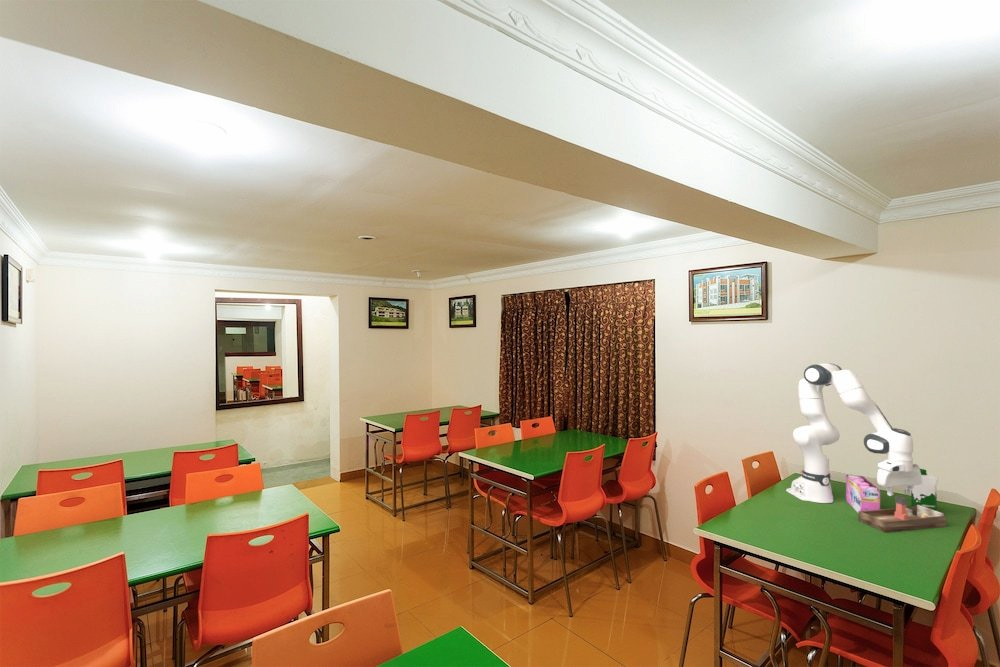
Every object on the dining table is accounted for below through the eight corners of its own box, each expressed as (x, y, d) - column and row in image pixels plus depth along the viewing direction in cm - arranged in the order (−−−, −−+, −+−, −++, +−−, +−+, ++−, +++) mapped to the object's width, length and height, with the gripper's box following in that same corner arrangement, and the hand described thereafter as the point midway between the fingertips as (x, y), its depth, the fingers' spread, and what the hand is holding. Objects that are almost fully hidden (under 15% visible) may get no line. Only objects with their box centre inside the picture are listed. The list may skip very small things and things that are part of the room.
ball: (922, 510, 221) (925, 516, 221) (916, 515, 220) (920, 521, 221) (930, 513, 217) (933, 519, 218) (924, 518, 217) (928, 524, 217)
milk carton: (928, 509, 234) (928, 468, 234) (941, 516, 225) (940, 474, 225) (908, 508, 236) (907, 467, 236) (919, 514, 227) (918, 473, 227)
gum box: (844, 499, 249) (844, 473, 249) (862, 501, 246) (862, 475, 246) (861, 516, 226) (860, 488, 226) (881, 518, 224) (880, 489, 224)
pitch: (858, 521, 221) (858, 509, 221) (916, 515, 226) (916, 504, 226) (885, 532, 208) (885, 520, 208) (946, 526, 213) (946, 514, 213)
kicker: (894, 517, 219) (893, 496, 219) (898, 516, 219) (898, 495, 219) (903, 520, 215) (903, 499, 215) (908, 520, 215) (907, 499, 215)
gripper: (912, 461, 222) (911, 490, 222) (874, 464, 219) (873, 493, 219) (926, 465, 216) (925, 495, 216) (887, 468, 212) (887, 498, 213)
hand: (899, 494), depth 218 cm, fingers open, 8 cm apart
